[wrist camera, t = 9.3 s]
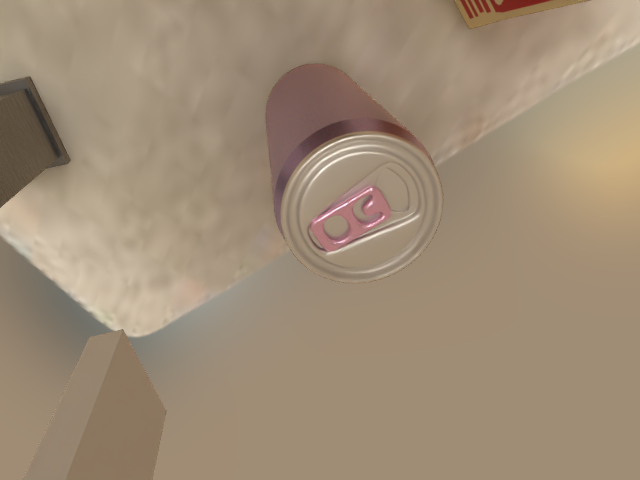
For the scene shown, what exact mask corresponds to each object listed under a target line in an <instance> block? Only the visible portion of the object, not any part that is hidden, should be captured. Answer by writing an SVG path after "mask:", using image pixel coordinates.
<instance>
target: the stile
mask: <svg viewBox="0 0 640 480" xmlns="http://www.w3.org/2000/svg"><path fill="white" fill-rule="evenodd" d="M69 161H70V159H69V157H68V155H67V152H66V150H65V148H64V146H63V144H62V142H61V140H60V138H59V136H58V134H57V132H56V130H55V128H54V126H53V124H52V122H51V120H50V117H49V115H48V113H47V111H46V109H45V107H44V105H43V103H42V101H41V99H40V97H39V95H38V93H37V91H36V89H35V87H34V84H33V82H32V80H31V78H30V77H26V78H21V79H17V80H13V81H8V82H4V83H0V208H1V207H2V206H3V205H4V204H5V203H6V202H8V201H9V200H10V199H11V198H12V197H13V196H15V195H16V194H17V193H18V192H19V191H20V190H21V189H23V188H24V187H25V186H26V185H27V184H28V183H30V182H31V181H32V180H33V179H34V178H35V177H37V176H38V175H39V174H40V173H41V172H42V171H44V170H45V169H46V168H51V167H55V166H59V165H64V164H67V163H68V162H69Z"/></svg>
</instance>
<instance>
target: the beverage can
mask: <svg viewBox="0 0 640 480" xmlns="http://www.w3.org/2000/svg"><path fill="white" fill-rule="evenodd" d="M266 125H267V136H268V147H269V157H270V168H271V179H272V190H273V200H274V211H275V217H276V221H277V224H278V227H279V229H280V231H281V234H282V235H283V237H284V239H285V240H286V242H287V244H288V246H289V248H290V249H291V251H292V252H293V254H294V255H295V257H296V258H297V259H298V260H299V261H300V262H301V263H302V264H303V265H304V266H305V267H307V268H308V269H309V270H311V271H312V272H314V273H316V274H318V275H320V276H322V277H324V278H327V279H330V280H333V281H337V282H343V283H344V282H345V283H366V282H371V281H376V280H379V279H383V278H385V277H388V276H390V275H392V274H395V273H397V272H399V271H400V270H402V269H404V268H405V267H407V266H408V265H409V264H411V263H412V262H413V261H414V260H415V259H416V258H418V256H419V255H421V254H422V252H423V251H424V250H425V249H426V248H427V246H428V245H429V243H430V242H431V240H432V239H433V237H434V235H435V233H436V231H437V228H438V225H439V223H440V220H441V215H442V209H443V192H442V185H441V182H440V178H439V176H438V173H437V171H436V169H435V167H434V164H433V161H432V159H431V157H430V155H429V153H428V152H427V150H426V149H425V147H424V146H423V145H422V143H421V142H420V141H419V140H418V139H417V138H416V137H415V136H414V135H412V134H411V133H410V132H409V131H408V130H407V129H406V128H405V127H404V126H402V125H401V124H400V123H399V122H398V121H397V120H396V119H395V118H394V117H393V116H391V115H390V114H389V113H388V112H387V111H386V110H385V109H384V108H383V107H381V106H380V105H379V104H378V103H377V102H376V101H375V100H374V99H373V98H371V97H370V96H369V95H368V94H367V93H366V92H365V91H364V90H363V89H361V88H360V87H359V86H358V85H357V84H356V83H355V82H354V81H353V80H352V79H350V78H349V77H348V76H347V75H346V74H345V73H343V72H342V71H340V70H338V69H336V68H334V67H332V66H328V65H324V64H307V65H303V66H300V67H297V68H295V69H293V70H291V71H289V72H288V73H287V74H285V75H284V76H283V77H282V78H281V79H280V80H279V81H278V82H277V83H276V85H275V86H274V88H273V89H272V91H271V93H270V95H269V98H268V101H267V106H266Z"/></svg>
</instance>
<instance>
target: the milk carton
mask: <svg viewBox="0 0 640 480" xmlns="http://www.w3.org/2000/svg"><path fill="white" fill-rule="evenodd" d="M454 1H455V3H456V5H457V6H458V8H459V10H460V12H461V14H462V16H463V18H464V20H465V21H466V23H467V25H468V27H469V29H472V28H475V27H479V26H482V25H486V24H490V23H493V22H497V21H500V20H504V19H508V18H512V17H517V16H522V15H526V14H531V13H535V12H540V11H544V10H549V9H554V8H558V7H563V6H567V5H572V4H576V3H581V2H586V1H590V0H454Z"/></svg>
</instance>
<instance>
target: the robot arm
mask: <svg viewBox="0 0 640 480" xmlns="http://www.w3.org/2000/svg"><path fill="white" fill-rule="evenodd" d="M165 415H166V409H165V408H164V406H163V404H162V402H161V400H160V398H159V396H158V394H157V393H156V391H155V389H154V387H153V385H152V383H151V381H150V379H149V377H148V375H147V374H146V372H145V370H144V368H143V366H142V364H141V362H140V360H139V359H138V357H137V355H136V353H135V351H134V349H133V347H132V345H131V343H130V342H129V340H128V338H127V336H126V334H125V332H124V330H123V329H122V330H118V331H114V332H109V333H105V334H101V335H97V336H93V337H90V338H89V339H88V342H87V344H86V346H85V348H84V350H83V353H82V354H81V357H80V359H79V361H78V363H77V365H76V367H75V369H74V371H73V374H72V376H71V378H70V380H69V382H68V384H67V386H66V389H65V391H64V393H63V395H62V397H61V399H60V401H59V403H58V405H57V408H56V410H55V412H54V414H53V416H52V418H51V420H50V422H49V425H48V427H47V429H46V431H45V433H44V435H43V437H42V440H41V442H40V444H39V446H38V448H37V450H36V452H35V454H34V457H33V459H32V461H31V463H30V465H29V467H28V470H27V471H26V474H25V476H24V478H23V480H152V479H153V474H154V469H155V464H156V460H157V455H158V450H159V445H160V440H161V435H162V430H163V425H164V421H165Z"/></svg>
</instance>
